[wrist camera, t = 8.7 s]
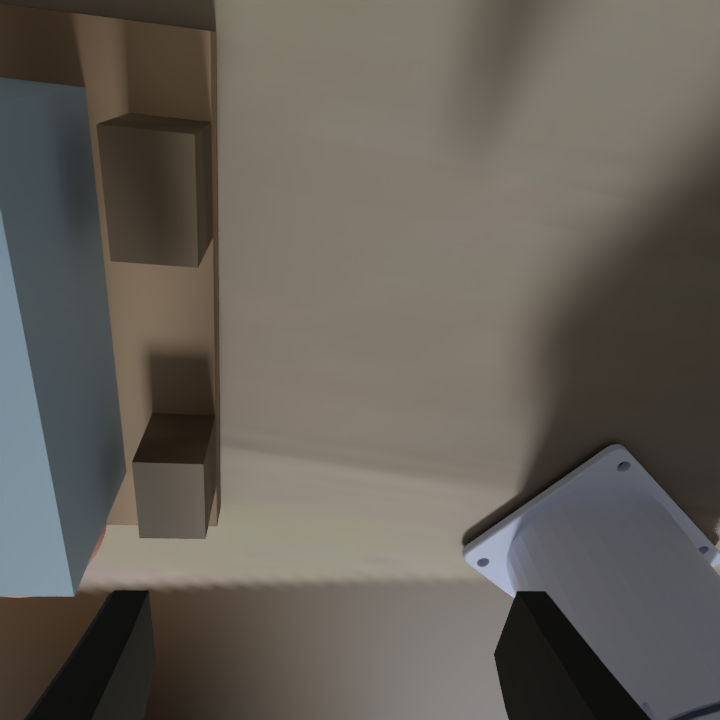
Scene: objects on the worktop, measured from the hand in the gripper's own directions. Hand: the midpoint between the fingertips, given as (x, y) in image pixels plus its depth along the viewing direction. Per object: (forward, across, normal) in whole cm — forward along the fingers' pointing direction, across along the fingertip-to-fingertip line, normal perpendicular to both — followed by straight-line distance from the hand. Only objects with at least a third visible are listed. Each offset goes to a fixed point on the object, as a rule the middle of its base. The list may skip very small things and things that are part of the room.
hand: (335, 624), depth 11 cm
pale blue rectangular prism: (+8, +9, -1) cm, 12 cm away
